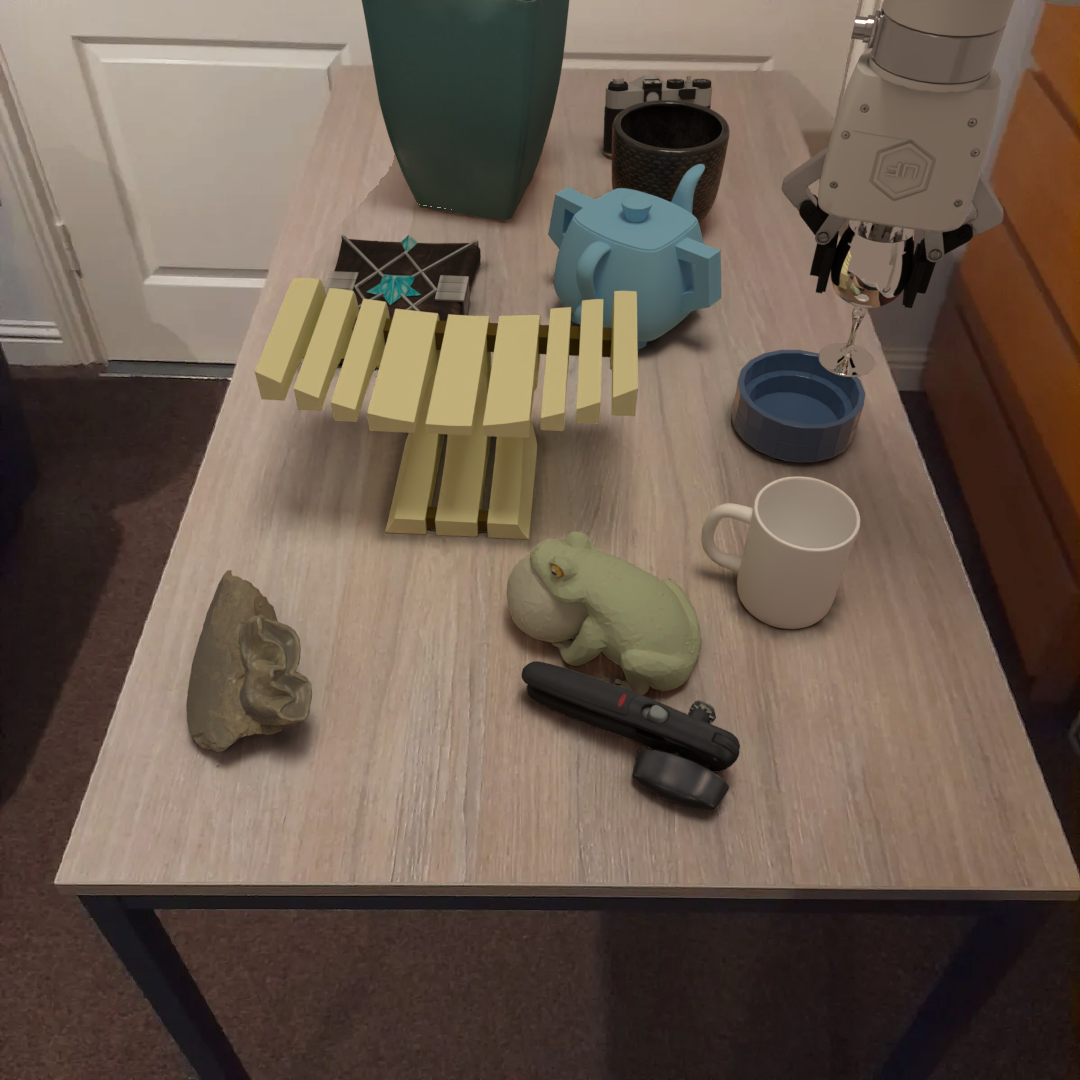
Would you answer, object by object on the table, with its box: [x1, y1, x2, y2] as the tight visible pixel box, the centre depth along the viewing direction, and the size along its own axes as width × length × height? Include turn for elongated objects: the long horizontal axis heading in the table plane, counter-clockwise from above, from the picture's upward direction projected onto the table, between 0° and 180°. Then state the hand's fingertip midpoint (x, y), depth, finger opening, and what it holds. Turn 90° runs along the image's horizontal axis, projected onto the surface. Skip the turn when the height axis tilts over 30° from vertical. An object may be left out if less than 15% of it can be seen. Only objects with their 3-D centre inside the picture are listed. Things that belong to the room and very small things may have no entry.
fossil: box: [185, 569, 313, 753], centre depth 76 cm, size 14×10×10 cm
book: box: [323, 234, 482, 364], centre depth 113 cm, size 22×17×5 cm
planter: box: [611, 100, 731, 224], centre depth 124 cm, size 14×14×13 cm
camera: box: [602, 74, 713, 157], centre depth 140 cm, size 15×11×10 cm
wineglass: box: [818, 220, 915, 378], centre depth 77 cm, size 6×6×12 cm
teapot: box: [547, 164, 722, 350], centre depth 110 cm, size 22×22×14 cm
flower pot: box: [361, 0, 570, 222], centre depth 123 cm, size 20×20×28 cm
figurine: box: [506, 530, 702, 696], centre depth 79 cm, size 10×16×10 cm, turn 66°
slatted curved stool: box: [254, 277, 639, 540], centre depth 90 cm, size 30×16×18 cm, turn 87°
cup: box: [700, 475, 861, 630], centre depth 83 cm, size 8×12×10 cm
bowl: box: [730, 349, 866, 463], centre depth 100 cm, size 12×12×5 cm
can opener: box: [521, 660, 741, 812], centre depth 75 cm, size 18×7×6 cm, turn 58°
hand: (864, 288), depth 76 cm, fingers closed on wineglass, 5 cm apart
